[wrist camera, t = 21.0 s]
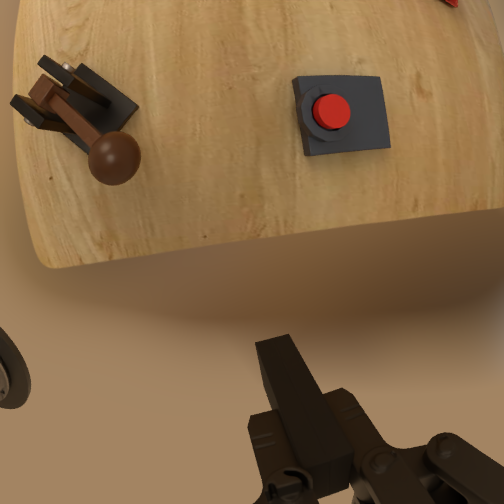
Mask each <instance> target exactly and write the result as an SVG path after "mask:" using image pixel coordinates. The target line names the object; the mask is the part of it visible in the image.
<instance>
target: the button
mask: <svg viewBox="0 0 504 504" xmlns="http://www.w3.org/2000/svg"><path fill="white" fill-rule="evenodd" d="M313 116H314V118H315V120H316V122H317V123H318V124H319V125H320V126H322V127H324V128H326V129H334V128H340V127H343V126H344V125H346V124H347V122H348V121H349V119H350V108H349V105H348V103H347V102H346V100H345V99H344V98H342V97H341V96H339V95H336V94H329V95H326V96H323V97H321V98H319V99H318V100H317V101H316V102H315V104H314V106H313Z"/></svg>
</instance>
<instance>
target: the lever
mask: <svg viewBox="0 0 504 504" xmlns="http://www.w3.org/2000/svg"><path fill="white" fill-rule="evenodd" d="M28 95H29V96H30V97H31V98H32V99H33V101H34V102H35V103H36V104H37V105H38V106H39V107H41V108H43V109H45V110H47V111H49V112H51V113H53V114H56V113H57V114H58V115H59V116H60V117H61V118H62V119H63V120H64V121H65V122H66V123H67V124H68V125H69V126H70V128H71V129H72V130H73V131H74V132H75V133H76V134H77V135H78V136H79V137H80V138H81V139H82V140H83V141H84V142H85V143H86V144H87V145H88V146H89V147H90V148H91V149H90V152H89V156H88V164H89V169H90V171H91V173H92V175H93V176H94V177H95V178H96V179H97V180H98V181H99V182H101V183H103V184H106V185H120V184H123V183H125V182H127V181H128V180H129V179H131V178H132V177H133V176H134V175H135V173H136V172H137V170H138V168H139V165H140V161H141V152H140V148H139V146H138V144H137V142H136V141H135V139H134V138H133V137H131V136H130V135H128V134H126V133H124V132H119V131H114V132H109V133H106V134H104V135H102V134H101V133H100V132H99V131H98V130H97V129H96V128H95V127H94V126H93V125H92V124H91V123H90V122H89V121H87V120H86V119H85V118H84V117H83V116H82V115H81V114H80V113H79V112H78V111H77V110H76V109H75V108H74V107H73V106H72V105H70V104H69V103H68V102H67V101H66V99H67V98H68V97H69V95H70V93H69V92H68V91H67V90H66V89H64V88H63V87H62V86H61V85H60V84H59V83H57V82H56V81H54V80H53V79H51V78H49V77H48V76H46V75H45V74H42V75H41V76H40V78H39V79H38V81H37V82H36V83H35V85H34V86H33V88H32V89H31V90H30V92H29V93H28Z"/></svg>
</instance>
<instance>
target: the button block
mask: <svg viewBox="0 0 504 504" xmlns="http://www.w3.org/2000/svg"><path fill="white" fill-rule="evenodd" d="M292 83H293V88H294V94H295V99H296V105H297V107H296V111H297V117H298V123H299V125H300V129H301V135H302V142H303V149H304V155H305V156H315V155H323V154H331V153H340V152H350V151H360V150H370V149H382V148H391V145H390V136H389V128H388V121H387V114H386V108H385V102H384V96H383V90H382V85H381V79H380V77H376V76H350V75H320V76H297V77H296V78H295V79H293V80H292ZM329 94H336V95H339V96H341V97H342V98H344V99H345V100H346V102H347V103H348V105H349V108H350V119H349V121H348V122H347V124H346V125H344V126H343V127H340V128H334V129H326V128H324V127H322V126H320V125H319V124H318V123H317V122H316V120H315V118H314V116H313V106H314V104H315V102H316V101H317V100H318V99H319V98H321V97H323V96H326V95H329Z"/></svg>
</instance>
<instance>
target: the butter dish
mask: <svg viewBox="0 0 504 504" xmlns="http://www.w3.org/2000/svg"><path fill="white" fill-rule="evenodd" d="M445 1H446V2H448V3H450V4H451V5H453V6H454V7H458V0H445Z"/></svg>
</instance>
